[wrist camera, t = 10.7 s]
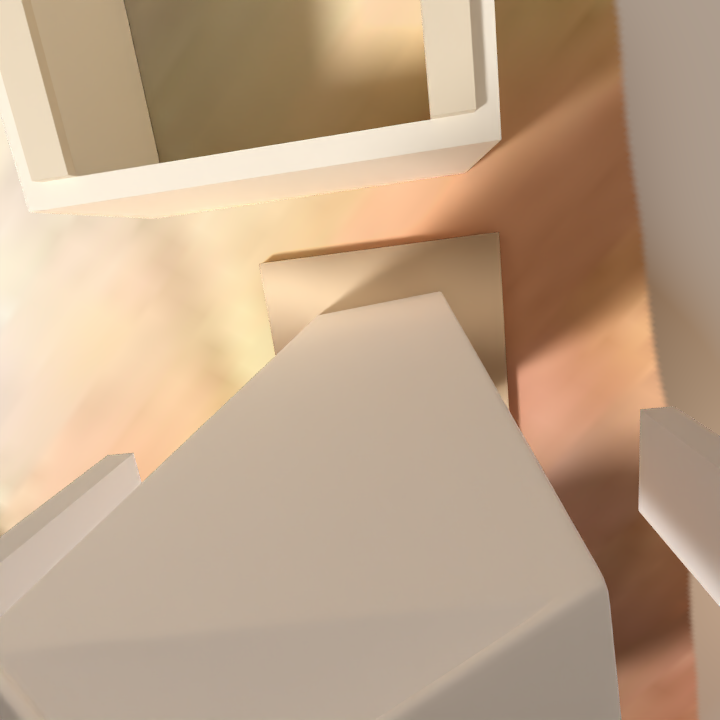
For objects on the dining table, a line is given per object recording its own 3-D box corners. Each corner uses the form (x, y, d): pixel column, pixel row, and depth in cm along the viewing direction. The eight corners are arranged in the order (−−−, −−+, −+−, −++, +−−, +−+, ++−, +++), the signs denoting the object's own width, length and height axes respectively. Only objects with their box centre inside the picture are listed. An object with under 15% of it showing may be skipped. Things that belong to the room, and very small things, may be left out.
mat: (262, 262, 23) (258, 263, 22) (496, 232, 22) (498, 232, 21) (299, 469, 26) (297, 475, 25) (509, 453, 24) (511, 458, 24)
